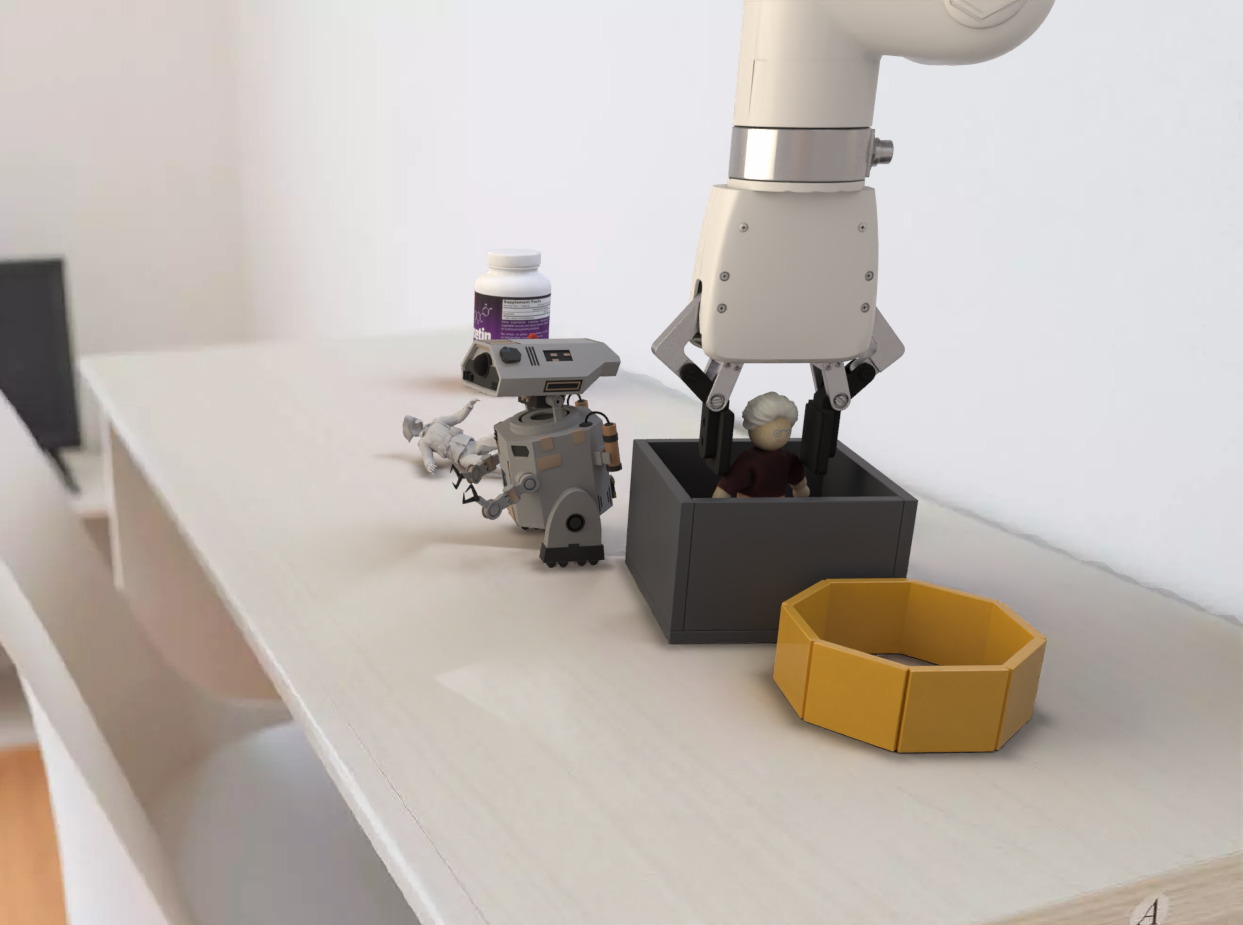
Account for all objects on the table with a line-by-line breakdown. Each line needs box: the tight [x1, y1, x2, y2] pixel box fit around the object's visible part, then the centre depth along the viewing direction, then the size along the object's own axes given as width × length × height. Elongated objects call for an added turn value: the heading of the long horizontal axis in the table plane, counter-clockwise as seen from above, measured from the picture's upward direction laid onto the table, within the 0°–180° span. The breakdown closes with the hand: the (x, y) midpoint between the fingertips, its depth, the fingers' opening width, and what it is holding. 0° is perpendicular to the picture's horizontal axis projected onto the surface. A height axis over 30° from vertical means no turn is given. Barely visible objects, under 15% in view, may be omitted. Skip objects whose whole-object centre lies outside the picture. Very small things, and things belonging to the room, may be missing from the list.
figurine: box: [449, 333, 623, 569], centre depth 88 cm, size 9×12×15 cm
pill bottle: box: [472, 248, 552, 342], centre depth 135 cm, size 8×8×14 cm
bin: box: [624, 437, 919, 645], centre depth 80 cm, size 14×14×9 cm
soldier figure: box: [402, 397, 502, 476], centre depth 109 cm, size 8×5×12 cm
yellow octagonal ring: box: [772, 577, 1048, 754], centre depth 68 cm, size 12×12×4 cm
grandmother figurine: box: [712, 391, 810, 498], centre depth 79 cm, size 8×4×13 cm, turn 127°
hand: (764, 466), depth 79 cm, fingers closed on grandmother figurine, 5 cm apart
